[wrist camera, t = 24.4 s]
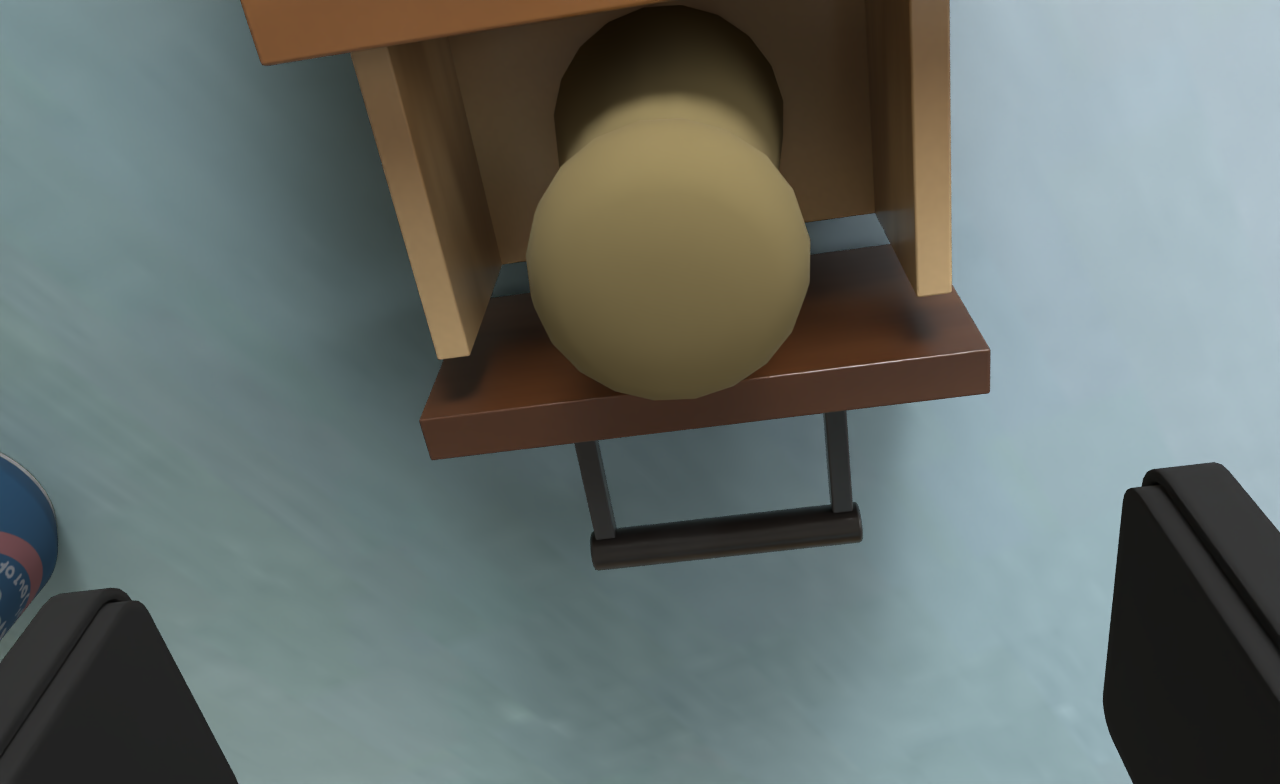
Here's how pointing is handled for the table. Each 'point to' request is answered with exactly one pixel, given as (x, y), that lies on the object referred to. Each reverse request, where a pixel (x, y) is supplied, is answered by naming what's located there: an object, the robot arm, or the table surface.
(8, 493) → the soda can
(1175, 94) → the table surface
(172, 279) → the table surface
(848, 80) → the drawer
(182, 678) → the robot arm
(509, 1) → the cabinet
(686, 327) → the wooden game pawn
